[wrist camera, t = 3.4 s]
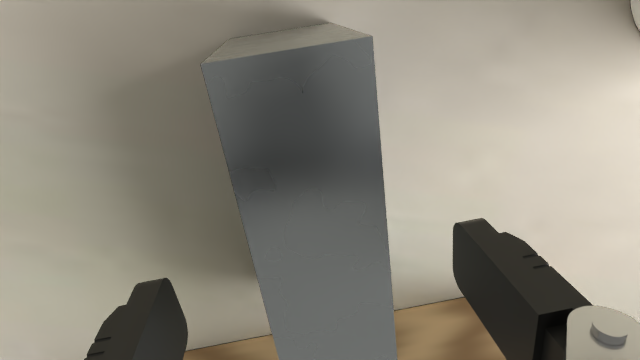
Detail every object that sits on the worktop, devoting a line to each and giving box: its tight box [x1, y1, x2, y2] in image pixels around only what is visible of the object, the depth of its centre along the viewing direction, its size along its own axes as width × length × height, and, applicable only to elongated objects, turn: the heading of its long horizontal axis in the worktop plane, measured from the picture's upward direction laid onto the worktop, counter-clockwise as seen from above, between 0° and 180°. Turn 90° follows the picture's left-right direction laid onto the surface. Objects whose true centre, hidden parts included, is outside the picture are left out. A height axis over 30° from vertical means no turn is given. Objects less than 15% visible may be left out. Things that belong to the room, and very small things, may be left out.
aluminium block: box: [201, 23, 397, 360], centre depth 15 cm, size 4×12×7 cm, turn 8°
